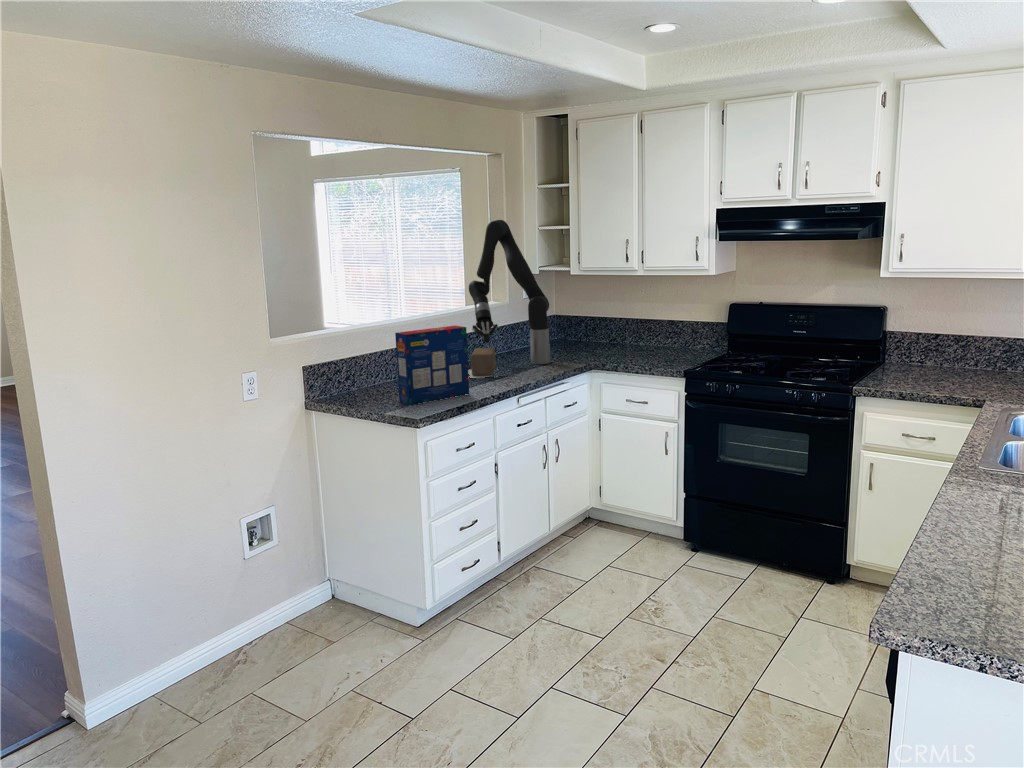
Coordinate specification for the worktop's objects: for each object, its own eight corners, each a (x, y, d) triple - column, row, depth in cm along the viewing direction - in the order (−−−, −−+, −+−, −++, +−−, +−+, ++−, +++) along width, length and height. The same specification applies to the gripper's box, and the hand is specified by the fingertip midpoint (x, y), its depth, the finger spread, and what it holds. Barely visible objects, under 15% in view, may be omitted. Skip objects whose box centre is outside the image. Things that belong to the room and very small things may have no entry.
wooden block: (495, 347, 371) (492, 354, 351) (495, 367, 373) (493, 375, 353) (474, 348, 371) (470, 354, 351) (475, 368, 373) (471, 376, 353)
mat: (509, 367, 373) (509, 367, 373) (516, 376, 352) (516, 375, 352) (463, 370, 370) (463, 369, 370) (468, 379, 349) (468, 378, 349)
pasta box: (458, 391, 322) (455, 325, 317) (469, 394, 316) (466, 327, 310) (399, 402, 306) (395, 332, 300) (409, 405, 299) (405, 334, 294)
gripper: (469, 309, 376) (473, 337, 367) (496, 308, 378) (501, 336, 369) (469, 319, 382) (473, 347, 373) (495, 317, 384) (500, 345, 375)
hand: (487, 341), depth 371 cm, fingers closed
